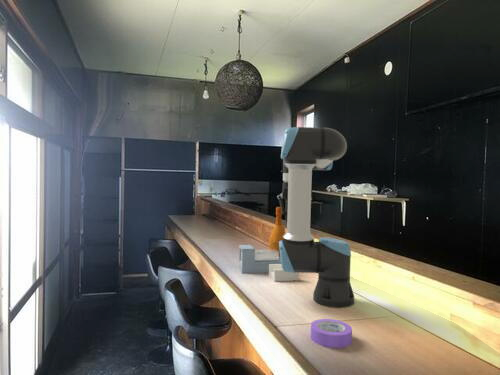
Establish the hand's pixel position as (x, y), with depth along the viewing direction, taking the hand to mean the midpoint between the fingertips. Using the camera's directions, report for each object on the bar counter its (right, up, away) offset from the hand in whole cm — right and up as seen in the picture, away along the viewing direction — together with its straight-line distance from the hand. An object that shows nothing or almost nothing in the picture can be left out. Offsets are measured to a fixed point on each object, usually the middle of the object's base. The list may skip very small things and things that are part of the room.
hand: (289, 228), depth 187 cm
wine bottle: (-5, -20, +15) cm, 25 cm away
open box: (-14, -20, -2) cm, 24 cm away
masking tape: (+4, -24, -79) cm, 82 cm away
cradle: (-5, -21, -15) cm, 26 cm away
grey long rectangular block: (-15, -16, -2) cm, 22 cm away
